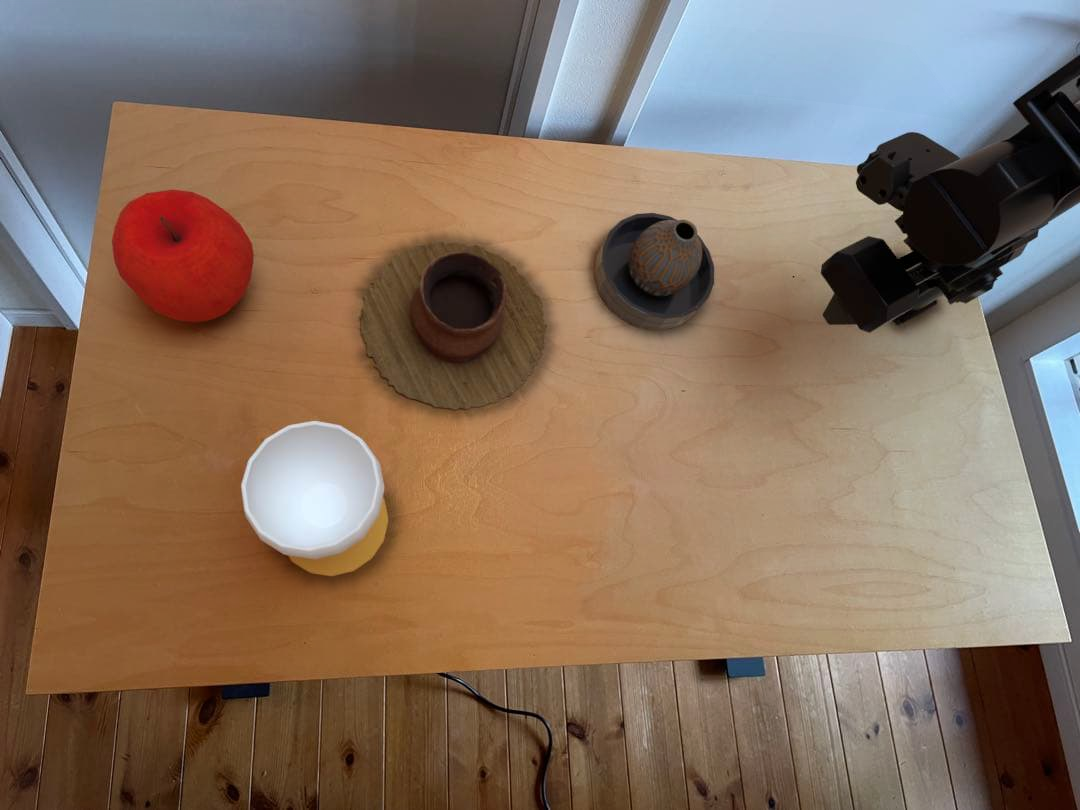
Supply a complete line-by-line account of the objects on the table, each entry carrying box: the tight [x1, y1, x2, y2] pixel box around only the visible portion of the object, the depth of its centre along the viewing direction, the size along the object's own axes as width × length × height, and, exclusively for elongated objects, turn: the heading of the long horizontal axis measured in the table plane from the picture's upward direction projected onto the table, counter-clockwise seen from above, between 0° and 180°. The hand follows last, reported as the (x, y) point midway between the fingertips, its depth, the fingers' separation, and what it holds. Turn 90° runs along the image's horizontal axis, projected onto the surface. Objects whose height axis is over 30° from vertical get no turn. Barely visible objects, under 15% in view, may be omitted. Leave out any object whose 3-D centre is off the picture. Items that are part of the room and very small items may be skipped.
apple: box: [111, 189, 254, 323], centre depth 56 cm, size 10×10×12 cm
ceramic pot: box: [359, 241, 548, 411], centre depth 62 cm, size 18×18×7 cm
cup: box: [240, 420, 389, 577], centre depth 50 cm, size 9×9×16 cm
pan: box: [594, 212, 715, 331], centre depth 70 cm, size 12×12×3 cm
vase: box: [629, 219, 702, 296], centre depth 67 cm, size 7×7×9 cm
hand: (863, 299), depth 60 cm, fingers open, 9 cm apart
